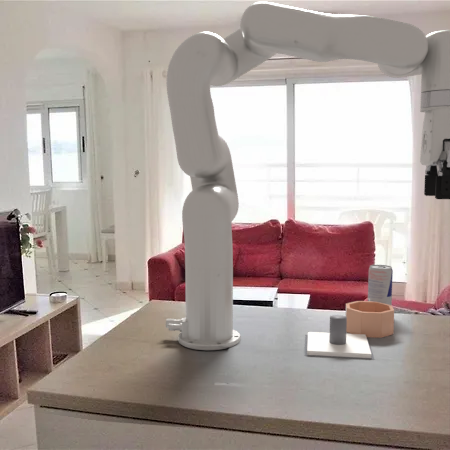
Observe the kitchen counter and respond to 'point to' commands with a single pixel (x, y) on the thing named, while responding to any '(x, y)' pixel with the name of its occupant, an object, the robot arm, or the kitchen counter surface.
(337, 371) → the kitchen counter surface
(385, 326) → the bowl
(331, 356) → the mat
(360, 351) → the lid
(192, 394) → the kitchen counter surface
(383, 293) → the energy drink
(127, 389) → the kitchen counter surface
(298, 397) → the kitchen counter surface
